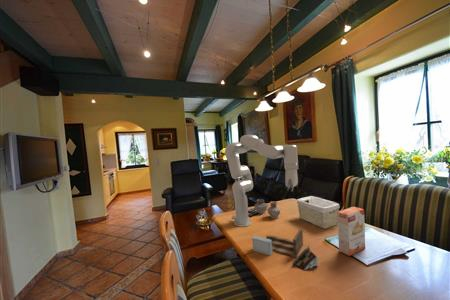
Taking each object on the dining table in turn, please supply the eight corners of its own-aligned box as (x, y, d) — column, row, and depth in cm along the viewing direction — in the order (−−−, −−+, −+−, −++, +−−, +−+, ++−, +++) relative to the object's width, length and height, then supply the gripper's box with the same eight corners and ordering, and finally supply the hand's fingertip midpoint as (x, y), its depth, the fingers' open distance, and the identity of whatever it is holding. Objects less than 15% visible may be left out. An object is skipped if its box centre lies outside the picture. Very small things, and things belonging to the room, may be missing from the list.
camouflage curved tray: (303, 275, 83) (319, 253, 85) (291, 263, 89) (306, 242, 91) (310, 280, 89) (325, 259, 90) (298, 268, 94) (312, 249, 96)
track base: (259, 247, 107) (258, 231, 107) (269, 236, 119) (268, 222, 118) (296, 257, 96) (295, 239, 95) (303, 244, 107) (302, 228, 107)
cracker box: (350, 257, 93) (348, 214, 92) (338, 251, 98) (336, 211, 98) (366, 248, 99) (364, 208, 98) (354, 243, 105) (352, 205, 104)
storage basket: (341, 225, 128) (340, 203, 127) (324, 230, 121) (323, 208, 121) (312, 214, 150) (311, 195, 149) (296, 218, 143) (295, 199, 143)
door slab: (253, 250, 104) (252, 238, 104) (255, 247, 107) (254, 235, 107) (270, 255, 99) (269, 242, 99) (272, 252, 101) (271, 239, 101)
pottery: (274, 221, 141) (273, 205, 140) (251, 212, 161) (250, 198, 161) (284, 217, 147) (283, 202, 146) (261, 209, 168) (260, 195, 167)
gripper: (288, 164, 120) (290, 191, 120) (280, 168, 105) (282, 199, 106) (301, 164, 115) (303, 192, 116) (294, 168, 101) (296, 200, 101)
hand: (293, 195), depth 111 cm, fingers open, 9 cm apart
